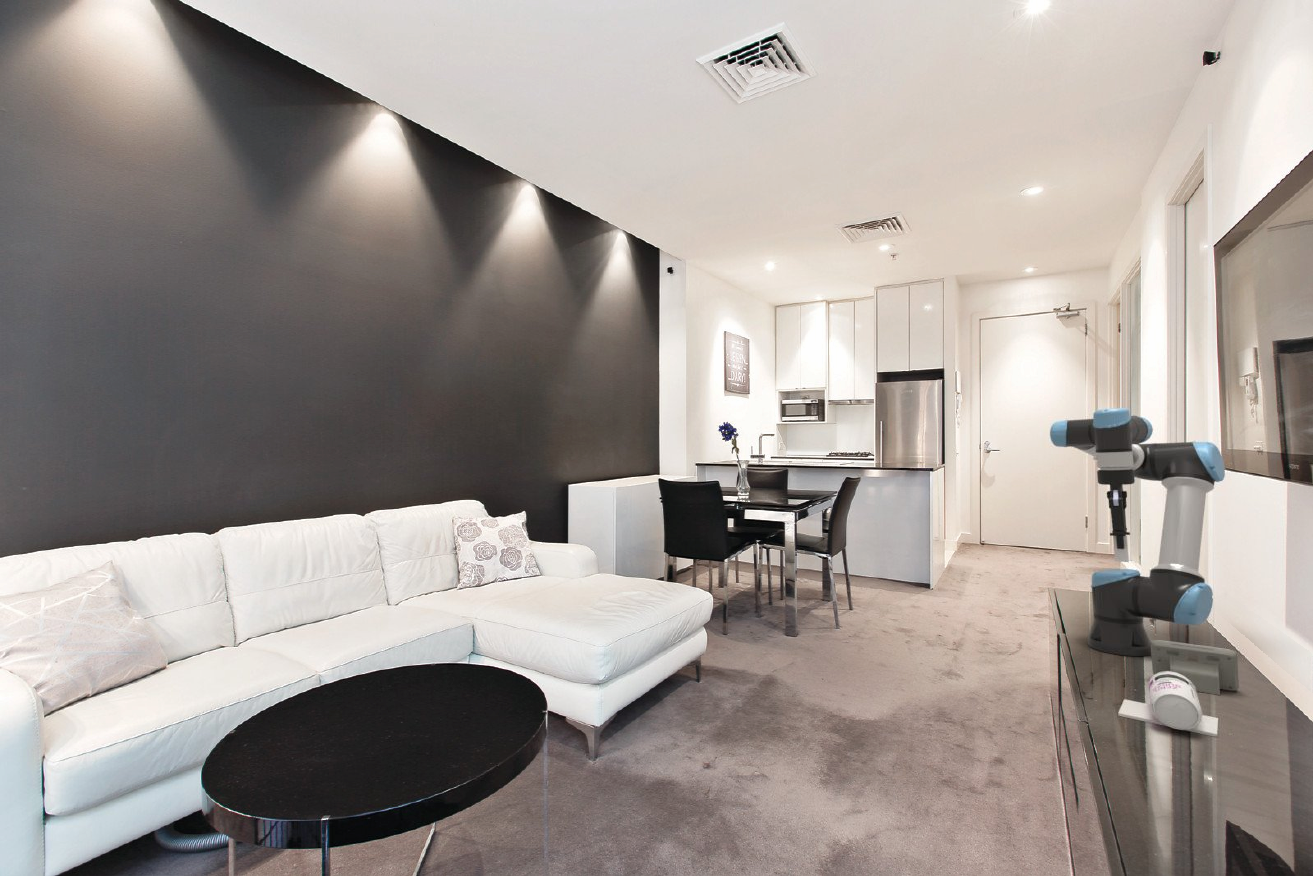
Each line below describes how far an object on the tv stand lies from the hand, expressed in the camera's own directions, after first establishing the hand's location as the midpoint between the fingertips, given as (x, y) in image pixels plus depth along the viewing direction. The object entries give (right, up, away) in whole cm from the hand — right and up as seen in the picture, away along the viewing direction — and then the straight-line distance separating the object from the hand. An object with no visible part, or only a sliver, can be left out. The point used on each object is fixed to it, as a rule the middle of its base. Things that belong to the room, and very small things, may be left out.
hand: (1121, 561), depth 152 cm
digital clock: (+15, -30, -5) cm, 34 cm away
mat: (-7, -30, -22) cm, 38 cm away
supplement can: (-2, -25, -17) cm, 31 cm away
